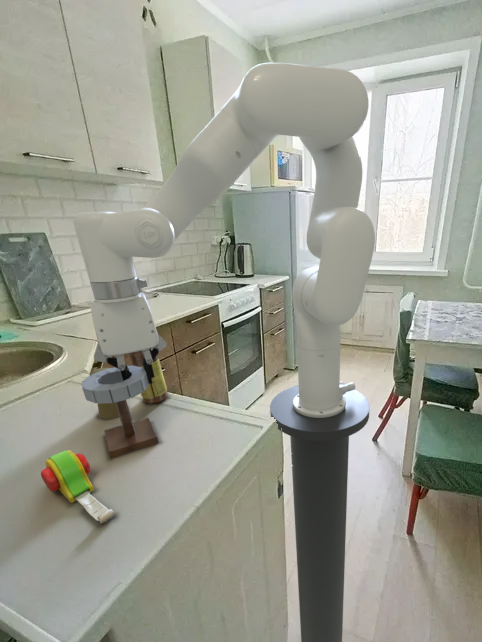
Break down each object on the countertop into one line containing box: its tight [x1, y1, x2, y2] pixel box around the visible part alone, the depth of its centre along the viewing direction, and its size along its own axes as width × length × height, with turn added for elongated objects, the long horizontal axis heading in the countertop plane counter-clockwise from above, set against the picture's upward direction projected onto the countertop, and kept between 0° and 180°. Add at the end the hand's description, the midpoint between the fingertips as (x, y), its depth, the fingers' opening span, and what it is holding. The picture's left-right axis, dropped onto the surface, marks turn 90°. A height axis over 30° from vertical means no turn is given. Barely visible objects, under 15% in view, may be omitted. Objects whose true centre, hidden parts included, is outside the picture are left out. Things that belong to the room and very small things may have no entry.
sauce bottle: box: [128, 348, 169, 404], centre depth 85 cm, size 7×6×20 cm
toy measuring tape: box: [40, 449, 116, 525], centre depth 57 cm, size 6×19×7 cm, turn 51°
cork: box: [89, 367, 120, 420], centre depth 82 cm, size 6×6×11 cm
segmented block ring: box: [81, 365, 149, 405], centre depth 68 cm, size 11×11×3 cm
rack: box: [104, 400, 159, 459], centre depth 70 cm, size 9×9×12 cm
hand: (140, 383), depth 70 cm, fingers closed on segmented block ring, 3 cm apart
